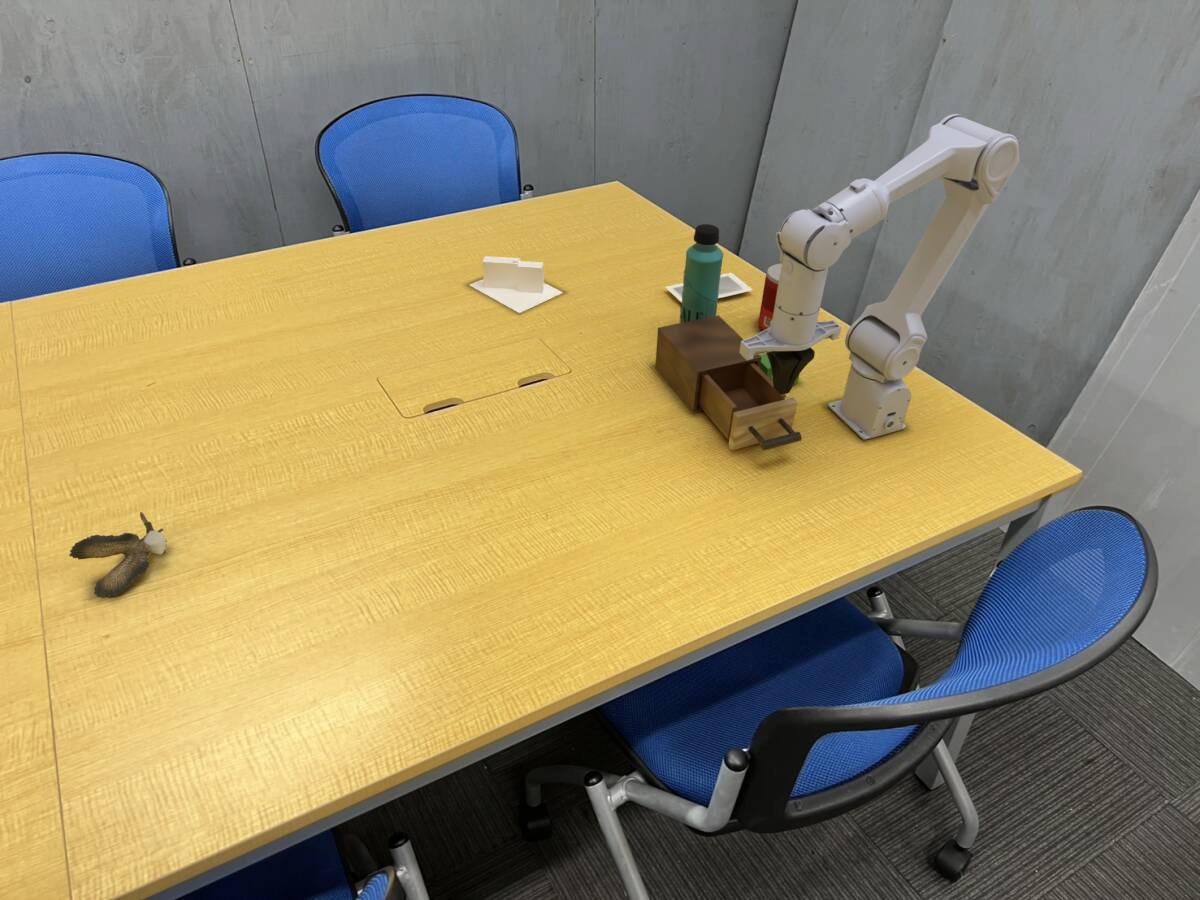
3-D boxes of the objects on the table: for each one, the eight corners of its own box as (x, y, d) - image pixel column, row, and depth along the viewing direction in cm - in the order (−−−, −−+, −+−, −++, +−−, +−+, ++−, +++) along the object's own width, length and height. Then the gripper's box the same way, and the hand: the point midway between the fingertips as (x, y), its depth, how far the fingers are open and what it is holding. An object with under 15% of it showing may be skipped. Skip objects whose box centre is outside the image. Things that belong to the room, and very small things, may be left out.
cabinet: (754, 397, 129) (761, 357, 124) (692, 413, 125) (697, 372, 120) (713, 354, 139) (718, 314, 134) (655, 367, 135) (657, 327, 130)
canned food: (805, 340, 142) (817, 284, 135) (760, 339, 142) (770, 283, 135) (798, 317, 148) (809, 263, 141) (755, 316, 148) (763, 262, 141)
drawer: (809, 454, 117) (817, 421, 113) (749, 470, 114) (755, 437, 110) (746, 388, 129) (752, 356, 125) (691, 401, 126) (695, 369, 122)
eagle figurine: (136, 526, 103) (63, 560, 96) (146, 499, 98) (71, 533, 92) (172, 572, 103) (102, 609, 96) (185, 547, 98) (112, 584, 91)
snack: (797, 383, 132) (802, 360, 129) (763, 392, 130) (767, 368, 127) (784, 370, 135) (788, 347, 132) (750, 378, 133) (754, 355, 130)
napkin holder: (468, 285, 156) (465, 258, 152) (511, 266, 162) (510, 239, 159) (520, 313, 148) (518, 285, 144) (564, 292, 154) (563, 264, 151)
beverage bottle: (714, 324, 146) (727, 220, 133) (714, 344, 141) (728, 237, 128) (678, 322, 146) (687, 217, 134) (677, 341, 141) (687, 235, 129)
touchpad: (752, 295, 155) (754, 285, 153) (684, 310, 150) (685, 300, 148) (730, 277, 160) (731, 267, 159) (664, 292, 155) (665, 281, 154)
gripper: (826, 281, 109) (808, 364, 118) (733, 300, 105) (721, 385, 113) (858, 305, 104) (837, 390, 113) (761, 326, 100) (747, 413, 108)
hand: (781, 390), depth 113 cm, fingers closed
